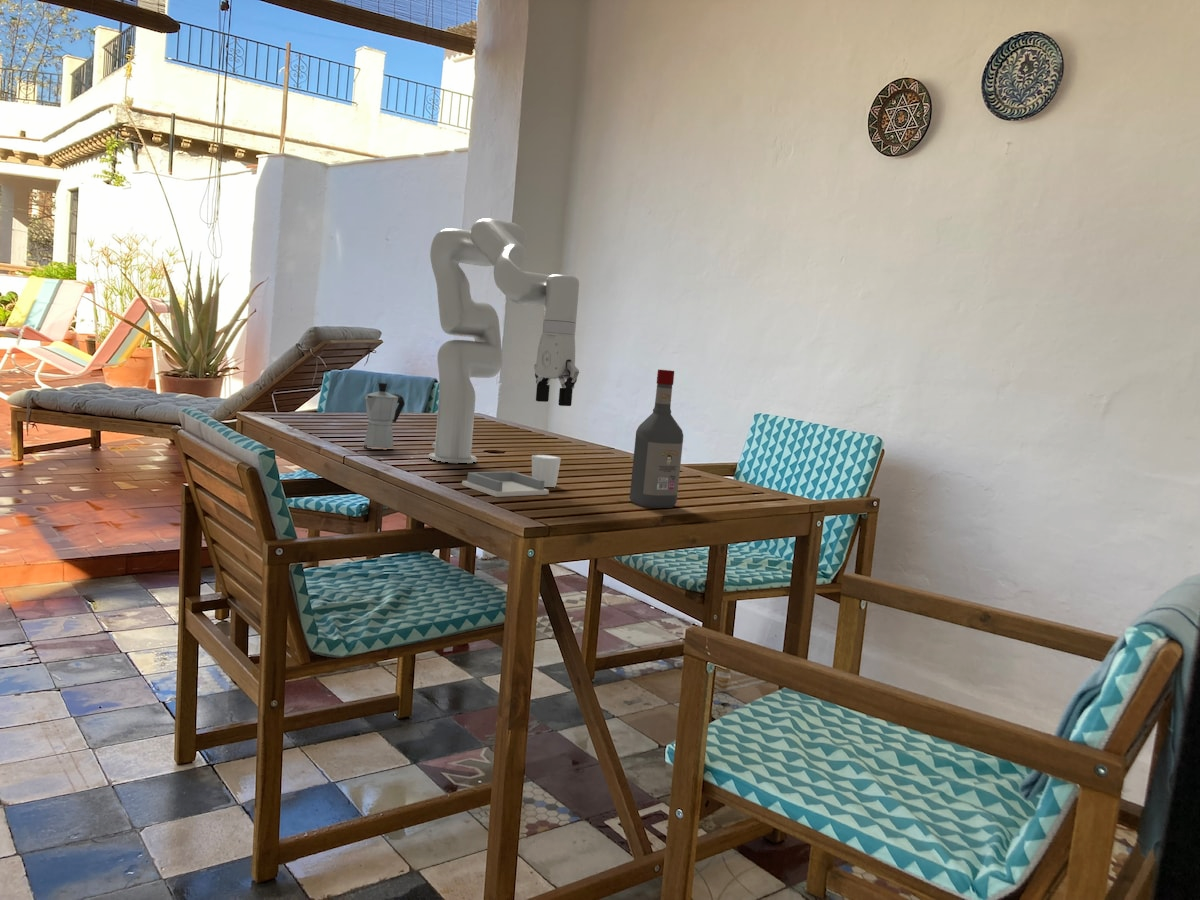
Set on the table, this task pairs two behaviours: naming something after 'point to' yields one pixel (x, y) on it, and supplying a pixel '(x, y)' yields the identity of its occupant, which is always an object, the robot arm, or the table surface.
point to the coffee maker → (382, 416)
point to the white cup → (546, 468)
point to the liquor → (657, 452)
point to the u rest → (505, 484)
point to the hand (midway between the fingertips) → (553, 403)
